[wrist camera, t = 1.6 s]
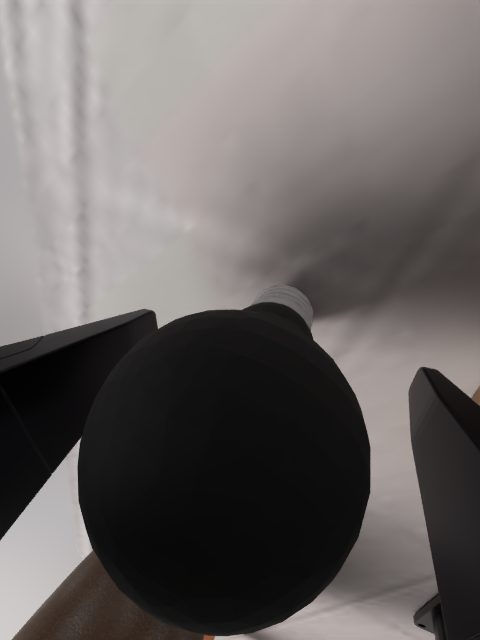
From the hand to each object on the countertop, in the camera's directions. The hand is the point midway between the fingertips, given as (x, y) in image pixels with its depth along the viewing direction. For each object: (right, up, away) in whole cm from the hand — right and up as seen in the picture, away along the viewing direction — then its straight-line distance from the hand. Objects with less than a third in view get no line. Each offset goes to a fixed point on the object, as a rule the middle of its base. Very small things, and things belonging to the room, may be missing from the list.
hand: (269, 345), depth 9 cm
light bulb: (+1, +2, +3) cm, 3 cm away
